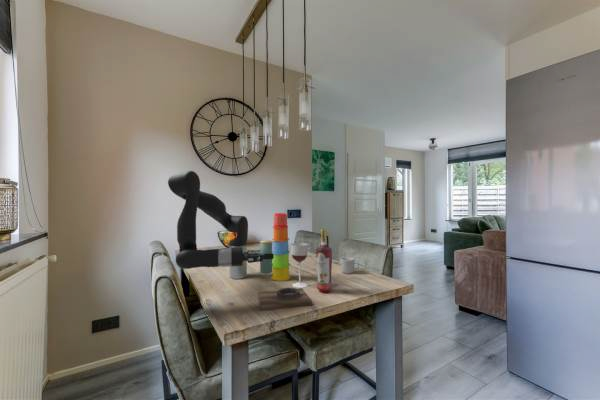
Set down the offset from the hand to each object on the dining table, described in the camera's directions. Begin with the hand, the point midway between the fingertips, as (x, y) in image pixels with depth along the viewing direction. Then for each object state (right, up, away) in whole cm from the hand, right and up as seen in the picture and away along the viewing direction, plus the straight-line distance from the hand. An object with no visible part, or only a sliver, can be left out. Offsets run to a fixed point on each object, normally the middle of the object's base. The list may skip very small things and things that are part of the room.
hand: (272, 254), depth 112 cm
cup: (+40, -19, +39) cm, 58 cm away
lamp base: (+5, -19, 0) cm, 19 cm away
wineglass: (+11, -19, +19) cm, 29 cm away
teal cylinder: (-2, -7, -1) cm, 7 cm away
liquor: (+23, -19, +10) cm, 31 cm away
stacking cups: (+1, -19, +31) cm, 36 cm away
